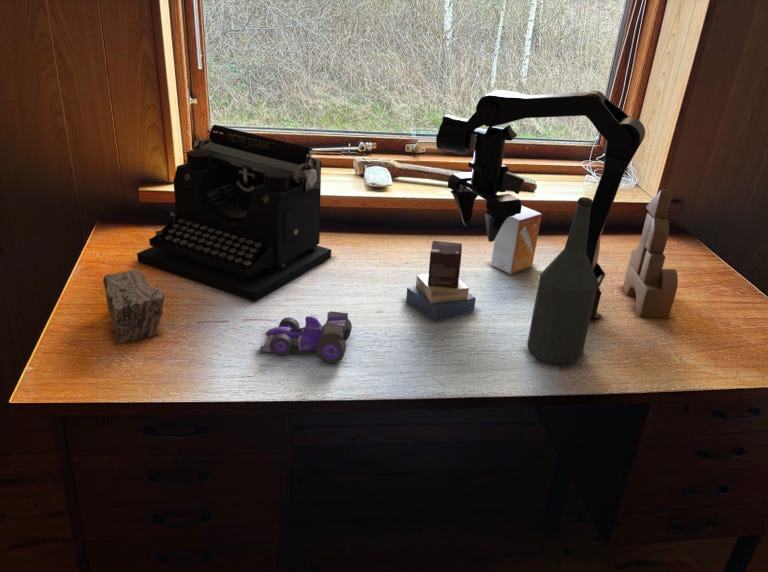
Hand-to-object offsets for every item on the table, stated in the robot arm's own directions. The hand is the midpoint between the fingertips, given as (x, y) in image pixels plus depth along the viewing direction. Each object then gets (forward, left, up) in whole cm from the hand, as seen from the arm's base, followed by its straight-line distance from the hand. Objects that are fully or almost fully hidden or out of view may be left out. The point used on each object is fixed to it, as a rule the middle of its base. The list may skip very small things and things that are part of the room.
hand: (478, 233), depth 154 cm
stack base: (-5, +11, -12) cm, 17 cm away
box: (-5, +11, -7) cm, 14 cm away
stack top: (-5, +11, -9) cm, 15 cm away
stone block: (+7, +68, -13) cm, 69 cm away
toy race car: (-11, +42, -13) cm, 46 cm away
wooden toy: (-18, -33, -13) cm, 40 cm away
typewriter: (+29, +43, -13) cm, 53 cm away
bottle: (-29, 0, -13) cm, 32 cm away
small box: (+7, -15, -13) cm, 21 cm away
